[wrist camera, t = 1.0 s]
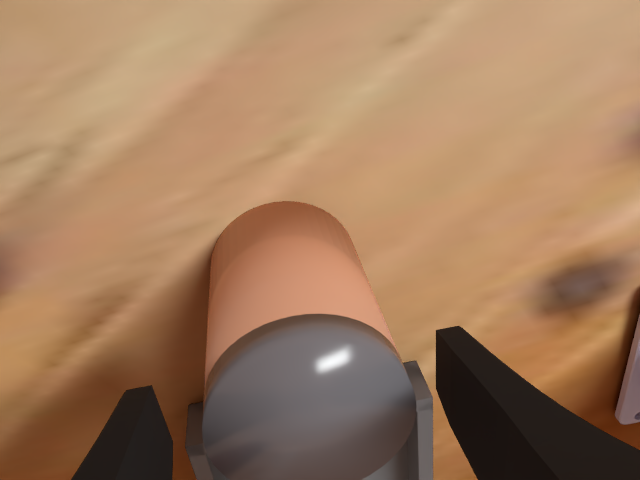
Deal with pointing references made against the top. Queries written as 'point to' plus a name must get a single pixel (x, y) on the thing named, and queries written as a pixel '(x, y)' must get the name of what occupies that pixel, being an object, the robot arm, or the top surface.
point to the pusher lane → (395, 476)
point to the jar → (298, 354)
